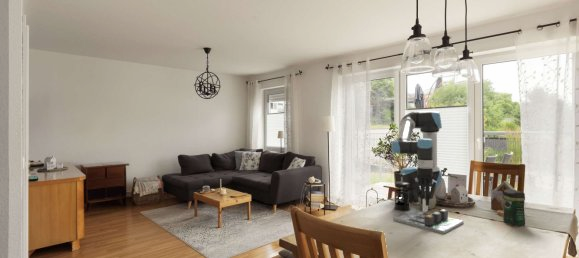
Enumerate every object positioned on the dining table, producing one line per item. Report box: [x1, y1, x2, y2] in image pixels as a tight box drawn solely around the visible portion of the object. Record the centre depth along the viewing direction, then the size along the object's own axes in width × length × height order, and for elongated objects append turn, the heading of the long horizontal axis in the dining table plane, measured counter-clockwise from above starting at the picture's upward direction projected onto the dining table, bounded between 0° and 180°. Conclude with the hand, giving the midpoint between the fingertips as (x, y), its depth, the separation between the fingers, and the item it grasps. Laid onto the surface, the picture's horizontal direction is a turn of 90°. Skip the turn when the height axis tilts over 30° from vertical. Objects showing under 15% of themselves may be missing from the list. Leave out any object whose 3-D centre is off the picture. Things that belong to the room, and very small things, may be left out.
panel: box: [393, 209, 464, 235], centre depth 168 cm, size 24×28×2 cm
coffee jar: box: [502, 188, 526, 227], centre depth 163 cm, size 10×8×19 cm
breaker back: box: [438, 208, 449, 219], centre depth 169 cm, size 4×3×4 cm
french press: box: [393, 172, 411, 212], centre depth 193 cm, size 12×9×23 cm
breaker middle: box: [431, 211, 441, 222], centre depth 164 cm, size 4×3×4 cm
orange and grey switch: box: [424, 215, 434, 225], centre depth 159 cm, size 4×3×4 cm
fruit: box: [418, 188, 437, 210], centre depth 194 cm, size 10×12×15 cm
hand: (425, 210), depth 161 cm, fingers closed
